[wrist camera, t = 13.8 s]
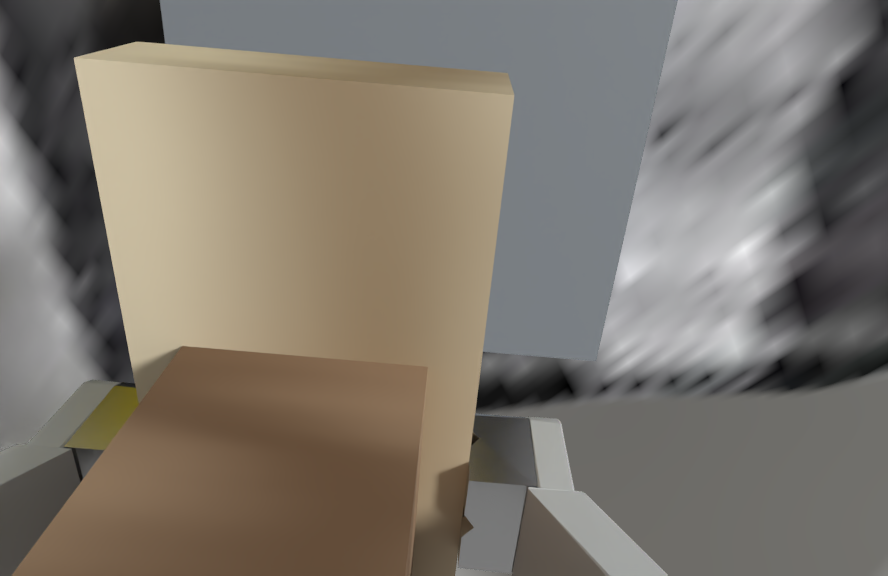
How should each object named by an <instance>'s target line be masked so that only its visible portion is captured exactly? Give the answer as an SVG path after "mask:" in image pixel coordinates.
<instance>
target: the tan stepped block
mask: <svg viewBox="0 0 888 576" xmlns="http://www.w3.org/2000/svg"><path fill="white" fill-rule="evenodd" d="M74 62H75V67H76V72H77V77H78V83H79V88H80V93H81V99H82V104H83V109H84V115H85V120H86V125H87V131H88V136H89V141H90V147H91V152H92V157H93V163H94V168H95V173H96V178H97V184H98V189H99V194H100V200H101V205H102V210H103V216H104V221H105V226H106V232H107V237H108V242H109V248H110V253H111V258H112V263H113V269H114V274H115V279H116V285H117V290H118V295H119V301H120V306H121V311H122V317H123V322H124V327H125V333H126V338H127V343H128V349H129V354H130V359H131V364H132V370H133V375H134V380H135V386H136V391H137V396H138V402H139V403H140V402H141V401H142V399H143V398H144V397H145V395H146V394H147V393H148V391H149V390H150V389H151V387H152V386H153V385H154V383H155V382H156V380H157V379H158V378H159V376H160V375H161V374H162V372H163V371H164V370H165V368H166V367H167V366H168V364H169V363H170V362H171V360H172V359H173V358H174V356H175V355H176V354H177V352H178V351H179V350H180V348H181V347H182V346H189V347H201V348H213V349H224V350H236V351H248V352H259V353H271V354H283V355H295V356H306V357H318V358H330V359H342V360H353V361H365V362H377V363H388V364H400V365H412V366H424V367H428V372H427V385H426V398H425V411H424V424H423V437H422V450H421V463H420V477H419V490H418V503H417V516H416V529H415V542H414V555H413V568H412V576H455V571H456V563H457V555H458V546H459V537H460V528H461V519H462V515H463V507H464V495H465V487H466V480H467V472H468V465H469V458H470V450H471V442H472V434H473V426H474V418H475V410H476V402H477V394H478V386H479V377H480V369H481V361H482V353H483V345H484V337H485V329H486V321H487V313H488V305H489V297H490V289H491V281H492V273H493V264H494V256H495V248H496V240H497V232H498V224H499V216H500V208H501V200H502V192H503V184H504V176H505V168H506V160H507V151H508V143H509V135H510V127H511V119H512V111H513V103H514V92H513V89H512V85H511V82H510V79H509V75H508V73H501V72H489V71H477V70H466V69H454V68H442V67H430V66H419V65H407V64H395V63H383V62H372V61H360V60H348V59H336V58H325V57H313V56H301V55H289V54H278V53H266V52H254V51H242V50H231V49H219V48H207V47H195V46H184V45H172V44H160V43H148V42H133V43H129V44H125V45H121V46H118V47H114V48H110V49H106V50H102V51H98V52H94V53H90V54H86V55H82V56H79V57H75V58H74Z"/></svg>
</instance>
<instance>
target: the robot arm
mask: <svg viewBox="0 0 888 576" xmlns="http://www.w3.org/2000/svg"><path fill="white" fill-rule="evenodd" d="M138 405H139V402H138V396H137V391H136V386H135V384H134V383H124V382H122V383H119V382H111V381H101V380H90V381H87V382H84V383H83V384H82V385H81V386H80V387H79V388H78V389H77V390H76V391H75V393H74V394H73V395H72V396H71V397H70V398H69V399H68V400H67V401H66V402H65V403H64V405H63V406H62V407H61V408H60V409H59V410H58V411H57V412H56V413H55V414H54V415H53V417H52V418H51V419H50V420H49V421H48V422H47V423H46V424H45V425H44V426H43V427H42V429H41V430H40V431H39V432H38V433H37V434H36V435H35V436H34V437H33V438H32V439H31V441H30V442H29V443H28V444H27V445H21V444H16V445H14V446H12V447H9V448H7V449H5V450H3V451H1V452H0V576H11V575H12V574H13V573H14V571H15V570H16V569H17V567H18V566H19V565H20V563H21V562H22V561H23V559H24V558H25V557H26V555H27V554H28V553H29V551H30V550H31V549H32V547H33V546H34V544H35V543H36V542H37V540H38V539H39V538H40V536H41V535H42V534H43V532H44V531H45V530H46V528H47V527H48V526H49V524H50V523H51V522H52V520H53V519H54V518H55V516H56V515H57V514H58V512H59V511H60V510H61V508H62V507H63V505H64V504H65V503H66V501H67V500H68V499H69V497H70V496H71V495H72V493H73V492H74V491H75V489H76V488H77V487H78V485H79V484H80V483H81V481H82V480H83V479H84V477H85V476H86V475H87V473H88V472H89V471H90V469H91V468H92V467H93V465H94V464H95V462H96V461H97V460H98V458H99V457H100V456H101V454H102V453H103V452H104V450H105V449H106V448H107V446H108V445H109V444H110V442H111V441H112V440H113V438H114V437H115V436H116V434H117V433H118V432H119V430H120V429H121V428H122V426H123V425H124V424H125V422H126V421H127V419H128V418H129V417H130V415H131V414H132V413H133V411H134V410H135V409H136V407H137V406H138ZM458 568H465V569H474V570H483V571H492V572H501V573H510V574H512V576H668V575H667V574H666V573H665V572H664V571H663V570H662V569H661V568H660V567H659V566H658V565H657V564H656V563H655V562H654V561H653V560H652V559H651V558H650V557H649V556H648V555H647V554H646V553H645V552H644V551H643V550H642V549H641V548H640V547H639V546H638V545H637V544H636V543H635V542H634V541H633V540H632V539H631V538H630V537H629V536H628V535H627V534H626V533H625V532H624V531H623V530H622V529H621V528H620V527H619V526H618V525H617V524H616V523H615V522H613V520H612V519H611V518H609V516H607V515H606V513H605V512H603V511H602V510H601V509H600V508H599V507H598V506H597V505H596V504H595V503H594V502H593V501H592V500H591V499H590V498H589V497H588V496H587V495H586V494H585V493H584V492H580V491H579V492H578V491H574V487H573V481H572V476H571V471H570V466H569V462H568V456H567V451H566V446H565V440H564V435H563V430H562V425H561V422H560V421H559V420H558V419H555V418H537V417H528V418H525V417H511V416H499V415H487V414H475V418H474V426H473V434H472V442H471V450H470V458H469V465H468V472H467V480H466V487H465V495H464V507H463V515H462V519H461V528H460V537H459V546H458Z"/></svg>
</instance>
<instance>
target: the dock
mask: <svg viewBox="0 0 888 576" xmlns="http://www.w3.org/2000/svg"><path fill="white" fill-rule="evenodd" d="M677 1H678V0H160V6H161V14H162V22H163V30H164V38H165V44H172V45H184V46H195V47H207V48H219V49H231V50H242V51H254V52H266V53H278V54H289V55H301V56H313V57H325V58H336V59H348V60H360V61H372V62H383V63H395V64H407V65H419V66H430V67H442V68H454V69H466V70H477V71H489V72H501V73H508V75H509V79H510V82H511V85H512V89H513V92H514V103H513V111H512V119H511V127H510V135H509V143H508V151H507V160H506V168H505V176H504V184H503V192H502V200H501V208H500V216H499V224H498V232H497V240H496V248H495V256H494V264H493V273H492V281H491V289H490V297H489V305H488V313H487V321H486V329H485V337H484V345H483V352H492V353H504V354H516V355H528V356H540V357H552V358H564V359H576V360H588V361H596V359H597V354H598V350H599V345H600V341H601V337H602V332H603V328H604V323H605V319H606V315H607V310H608V306H609V301H610V297H611V292H612V288H613V284H614V279H615V275H616V270H617V266H618V262H619V257H620V253H621V248H622V244H623V239H624V235H625V231H626V226H627V222H628V217H629V213H630V209H631V204H632V200H633V195H634V191H635V186H636V182H637V178H638V173H639V169H640V164H641V160H642V156H643V151H644V147H645V142H646V138H647V133H648V129H649V125H650V120H651V116H652V111H653V107H654V103H655V98H656V94H657V89H658V85H659V80H660V76H661V72H662V67H663V63H664V58H665V54H666V49H667V45H668V41H669V36H670V32H671V27H672V23H673V19H674V14H675V10H676V5H677Z"/></svg>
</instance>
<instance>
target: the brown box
mask: <svg viewBox="0 0 888 576" xmlns="http://www.w3.org/2000/svg"><path fill="white" fill-rule="evenodd" d="M427 372H428V367H424V366H412V365H400V364H388V363H377V362H365V361H353V360H342V359H330V358H318V357H306V356H295V355H283V354H271V353H259V352H248V351H236V350H224V349H213V348H201V347H189V346H182V347H181V348H180V350H179V351H178V352H177V354H176V355H175V356H174V358H173V359H172V360H171V362H170V363H169V364H168V366H167V367H166V368H165V370H164V371H163V372H162V374H161V375H160V376H159V378H158V379H157V380H156V382H155V383H154V385H153V386H152V387H151V389H150V390H149V391H148V393H147V394H146V395H145V397H144V398H143V399H142V401H141V402H140V403H139V405H138V406H137V407H136V409H135V410H134V411H133V413H132V414H131V415H130V417H129V418H128V419H127V421H126V422H125V424H124V425H123V426H122V428H121V429H120V430H119V432H118V433H117V434H116V436H115V437H114V438H113V440H112V441H111V442H110V444H109V445H108V446H107V448H106V449H105V450H104V452H103V453H102V454H101V456H100V457H99V458H98V460H97V461H96V462H95V464H94V465H93V467H92V468H91V469H90V471H89V472H88V473H87V475H86V476H85V477H84V479H83V480H82V481H81V483H80V484H79V485H78V487H77V488H76V489H75V491H74V492H73V493H72V495H71V496H70V497H69V499H68V500H67V501H66V503H65V504H64V505H63V507H62V508H61V510H60V511H59V512H58V514H57V515H56V516H55V518H54V519H53V520H52V522H51V523H50V524H49V526H48V527H47V528H46V530H45V531H44V532H43V534H42V535H41V536H40V538H39V539H38V540H37V542H36V543H35V544H34V546H33V547H32V549H31V550H30V551H29V553H28V554H27V555H26V557H25V558H24V559H23V561H22V562H21V563H20V565H19V566H18V567H17V569H16V570H15V571H14V573H13V574H12V575H11V576H412V568H413V555H414V542H415V529H416V516H417V503H418V490H419V477H420V463H421V450H422V437H423V424H424V411H425V398H426V385H427Z"/></svg>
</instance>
